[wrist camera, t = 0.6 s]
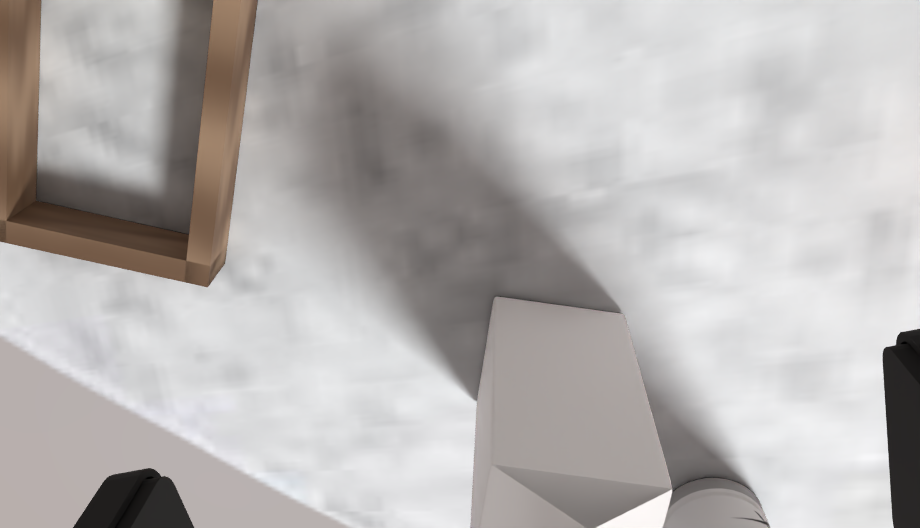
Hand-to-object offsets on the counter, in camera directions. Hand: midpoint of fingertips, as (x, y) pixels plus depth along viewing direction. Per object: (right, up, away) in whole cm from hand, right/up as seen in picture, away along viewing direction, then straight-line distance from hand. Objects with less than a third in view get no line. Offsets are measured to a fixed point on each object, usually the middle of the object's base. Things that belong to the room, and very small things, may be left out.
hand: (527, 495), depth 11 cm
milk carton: (+4, -2, +37) cm, 37 cm away
